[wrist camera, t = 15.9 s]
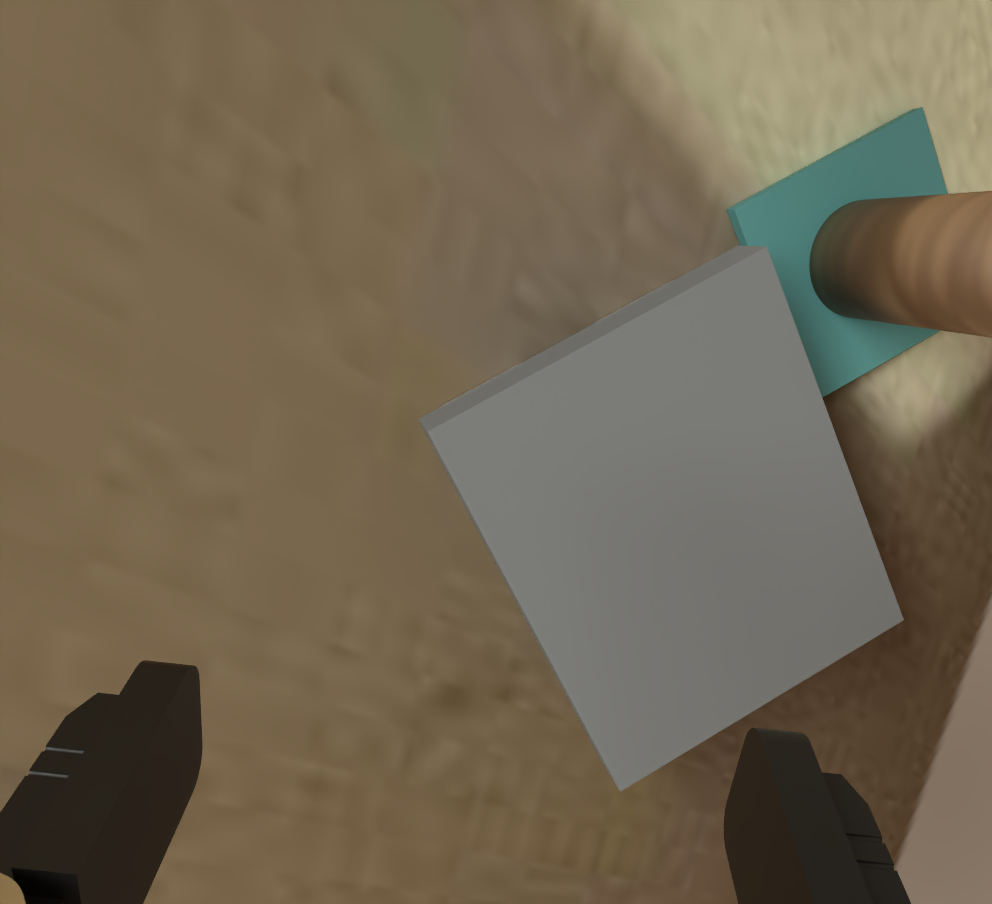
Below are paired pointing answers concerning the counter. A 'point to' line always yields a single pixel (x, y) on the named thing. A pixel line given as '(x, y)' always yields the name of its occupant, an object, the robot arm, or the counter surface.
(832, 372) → the teal pad
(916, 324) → the walnut roller
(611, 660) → the grey stool
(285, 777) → the counter surface
